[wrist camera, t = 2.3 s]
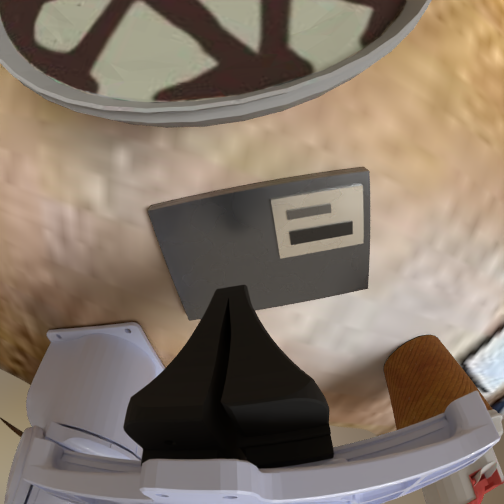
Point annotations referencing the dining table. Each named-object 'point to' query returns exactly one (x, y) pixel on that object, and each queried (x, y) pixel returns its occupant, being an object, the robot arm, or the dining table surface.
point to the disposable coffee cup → (427, 382)
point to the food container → (195, 53)
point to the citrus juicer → (466, 482)
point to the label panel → (269, 239)
